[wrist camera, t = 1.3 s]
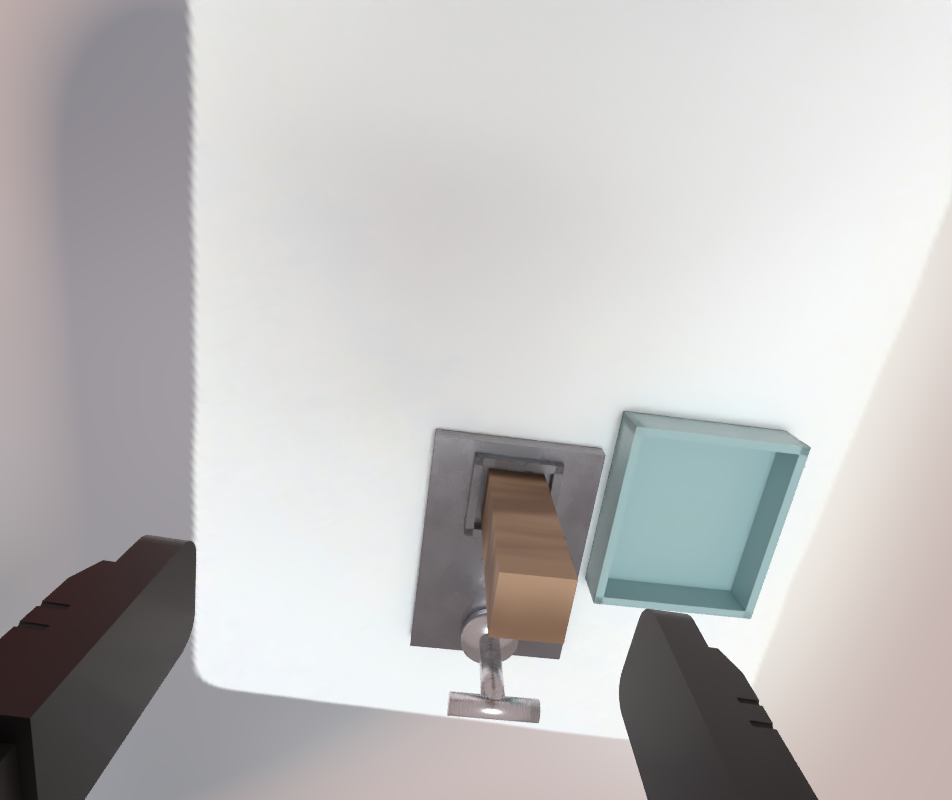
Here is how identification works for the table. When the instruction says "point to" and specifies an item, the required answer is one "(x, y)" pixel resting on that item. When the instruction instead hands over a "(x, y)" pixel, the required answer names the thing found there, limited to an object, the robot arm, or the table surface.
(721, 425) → the tray
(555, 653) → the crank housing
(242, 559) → the table surface
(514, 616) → the tall brown wooden block
